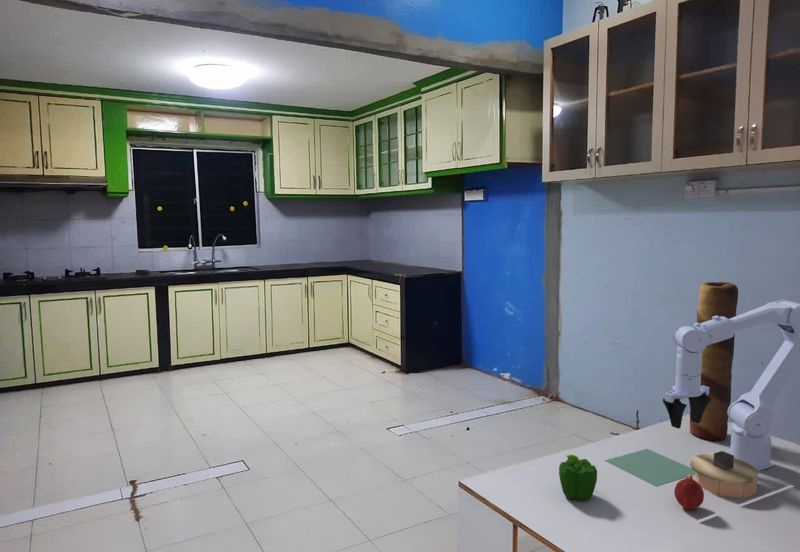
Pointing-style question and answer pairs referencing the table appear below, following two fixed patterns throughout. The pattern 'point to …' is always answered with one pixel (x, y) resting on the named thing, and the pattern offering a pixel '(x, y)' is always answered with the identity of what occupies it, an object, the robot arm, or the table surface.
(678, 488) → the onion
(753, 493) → the bowl
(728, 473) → the lid
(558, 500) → the table surface
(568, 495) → the bell pepper
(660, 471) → the mat
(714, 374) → the wafer roll
